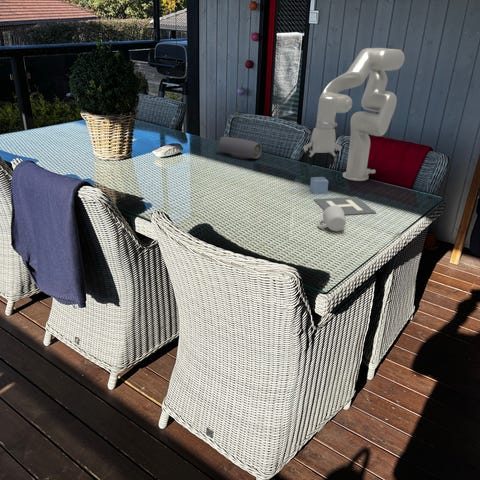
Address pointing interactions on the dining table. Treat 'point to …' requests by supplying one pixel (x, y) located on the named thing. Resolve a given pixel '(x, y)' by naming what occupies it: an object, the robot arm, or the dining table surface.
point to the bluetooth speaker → (240, 147)
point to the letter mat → (346, 205)
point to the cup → (333, 218)
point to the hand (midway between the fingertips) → (320, 165)
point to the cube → (319, 185)
